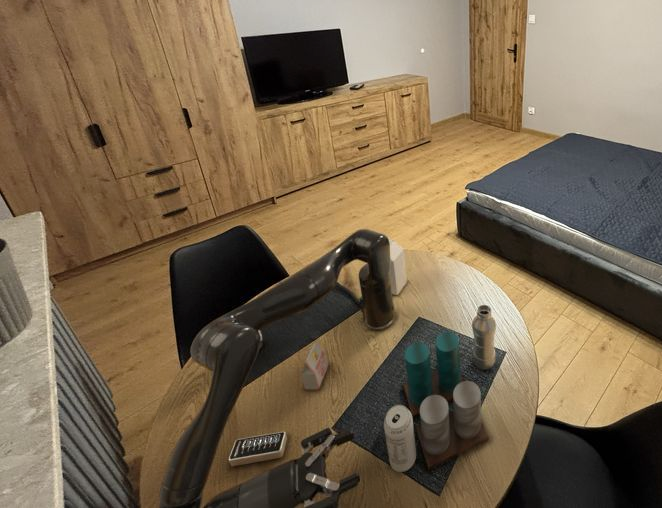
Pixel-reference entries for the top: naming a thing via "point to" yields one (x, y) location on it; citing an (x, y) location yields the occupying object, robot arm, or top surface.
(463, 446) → the tin rack
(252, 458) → the white black flat block
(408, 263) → the top surface
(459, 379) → the can rack
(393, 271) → the milk carton
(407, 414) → the energy drink can
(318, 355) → the pink white gabled box
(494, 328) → the plastic bottle
